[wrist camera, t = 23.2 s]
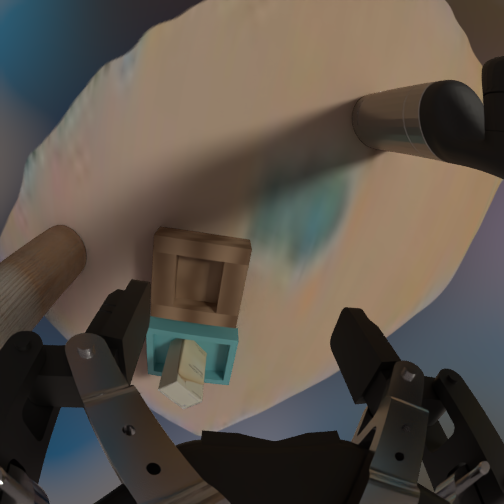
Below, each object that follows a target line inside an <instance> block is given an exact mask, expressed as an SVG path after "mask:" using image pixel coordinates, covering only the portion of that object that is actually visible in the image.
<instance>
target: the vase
mask: <svg viewBox="0 0 504 504" xmlns="http://www.w3.org/2000/svg"><path fill="white" fill-rule="evenodd" d="M85 264H86V250H85V247H84V244H83V242H82V240H81V238H80V237H79V236H78V234H77V233H76V232H75V231H74V230H72V229H71V228H69V227H67V226H64V225H56V226H53V227H51V228H49V229H48V230H46V231H45V232H43V233H42V234H40V235H39V236H37V237H36V238H34V239H33V240H31V241H30V242H28V243H27V244H25V245H24V246H22V247H21V248H20V249H18V250H17V251H15V252H14V253H13V254H11V255H10V256H8V257H7V258H6V259H4V260H3V261H2V262H0V350H1V349H2V347H3V346H4V344H5V343H6V341H7V340H8V339H9V337H11V336H12V335H13V334H15V333H17V332H20V331H32V330H33V329H34V327H35V326H36V325H37V324H38V322H39V321H40V320H41V319H42V317H43V316H44V315H45V314H46V312H47V311H48V310H49V309H50V308H51V306H52V305H53V304H54V303H55V302H56V300H57V299H58V298H59V297H60V296H61V294H62V293H63V292H64V291H65V290H66V289H67V288H68V286H69V285H70V284H71V283H72V282H73V281H74V280H75V279H76V278H77V276H78V275H79V274H80V273H81V272H82V270H83V269H84V267H85Z"/></svg>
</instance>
